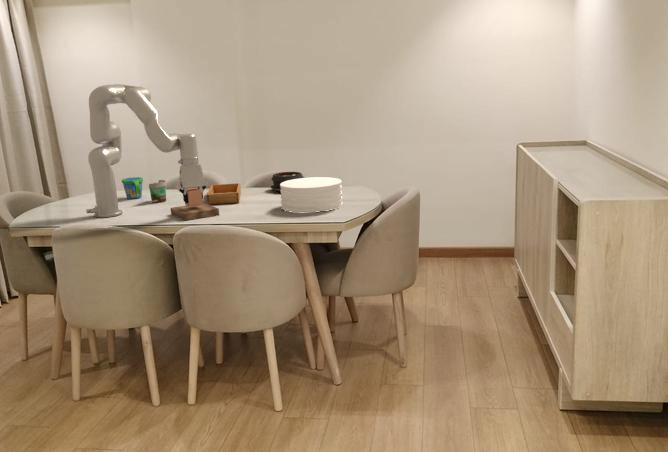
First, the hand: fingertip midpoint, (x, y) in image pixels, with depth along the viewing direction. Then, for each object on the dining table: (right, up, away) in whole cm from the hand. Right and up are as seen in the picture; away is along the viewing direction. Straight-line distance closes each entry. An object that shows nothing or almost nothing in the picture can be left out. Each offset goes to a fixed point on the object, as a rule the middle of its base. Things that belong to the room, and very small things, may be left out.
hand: (193, 201), depth 312 cm
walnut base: (0, -6, +1) cm, 6 cm away
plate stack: (+53, -3, +6) cm, 54 cm away
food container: (-24, +1, +38) cm, 44 cm away
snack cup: (-41, +3, +51) cm, 66 cm away
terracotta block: (0, -2, 0) cm, 2 cm away
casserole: (+39, +8, +53) cm, 66 cm away
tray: (+8, +2, +37) cm, 38 cm away
